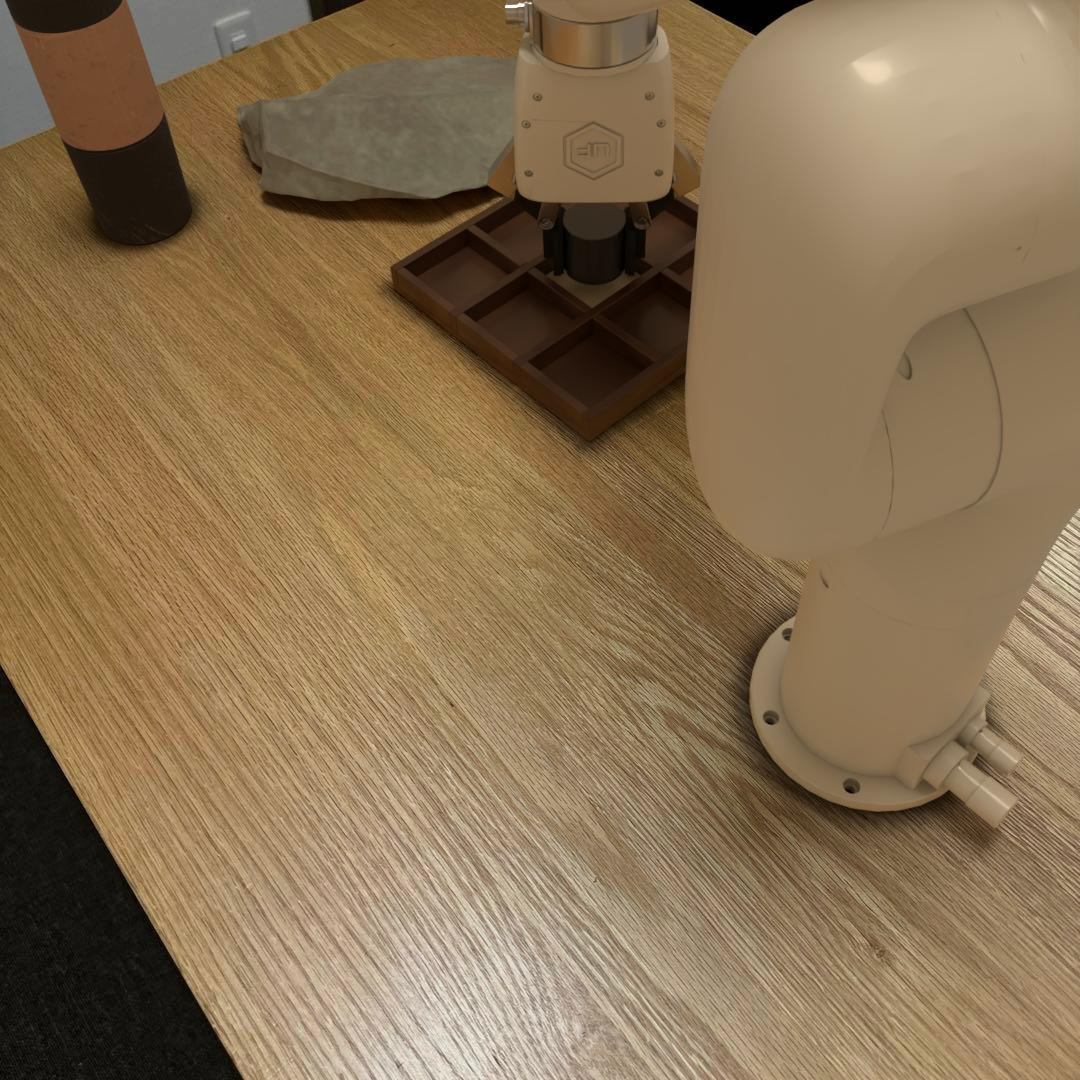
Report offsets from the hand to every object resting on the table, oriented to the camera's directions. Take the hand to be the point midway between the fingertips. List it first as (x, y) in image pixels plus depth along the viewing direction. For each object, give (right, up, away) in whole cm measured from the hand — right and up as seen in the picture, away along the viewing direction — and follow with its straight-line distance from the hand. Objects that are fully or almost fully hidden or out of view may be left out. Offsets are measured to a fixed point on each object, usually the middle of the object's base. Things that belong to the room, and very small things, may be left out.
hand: (594, 260), depth 85 cm
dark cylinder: (0, 0, 0) cm, 0 cm away
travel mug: (-35, +6, +10) cm, 37 cm away
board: (0, -2, +2) cm, 3 cm away
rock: (-15, +12, +13) cm, 23 cm away
